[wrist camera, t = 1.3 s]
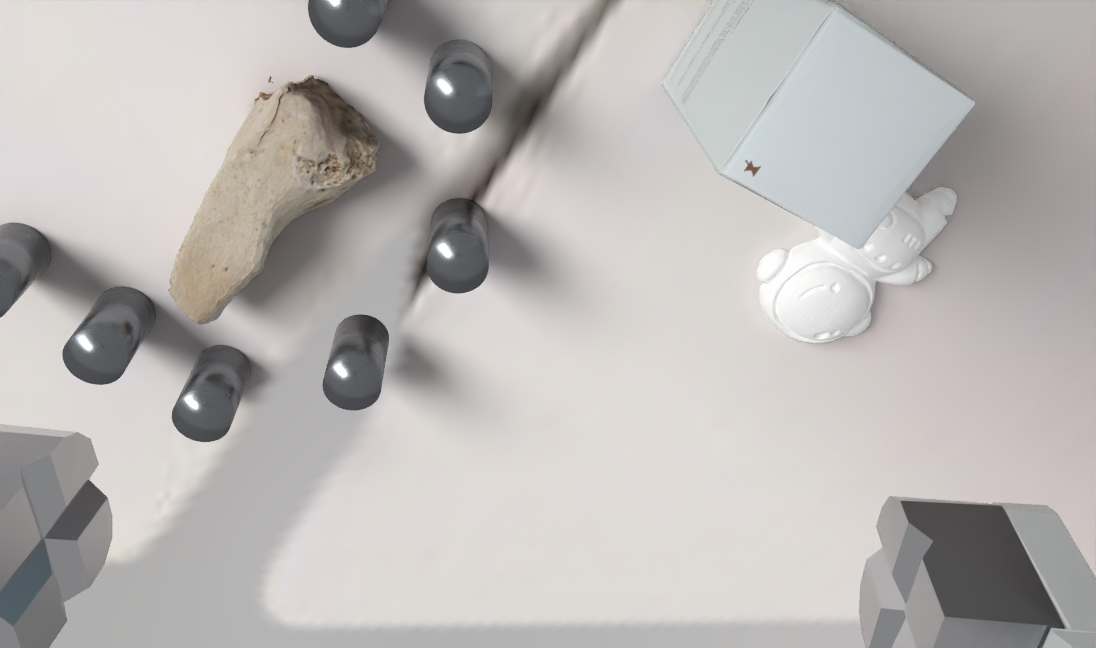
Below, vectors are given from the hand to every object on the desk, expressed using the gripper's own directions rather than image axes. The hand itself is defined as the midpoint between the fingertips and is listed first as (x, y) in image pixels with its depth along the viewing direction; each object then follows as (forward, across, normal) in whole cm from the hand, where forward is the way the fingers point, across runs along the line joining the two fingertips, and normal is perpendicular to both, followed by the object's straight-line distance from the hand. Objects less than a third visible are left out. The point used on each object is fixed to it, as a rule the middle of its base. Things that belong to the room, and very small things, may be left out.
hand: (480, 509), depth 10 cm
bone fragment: (+37, +16, +12) cm, 42 cm away
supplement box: (+40, -8, +5) cm, 41 cm away
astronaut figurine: (+41, -15, +16) cm, 47 cm away
